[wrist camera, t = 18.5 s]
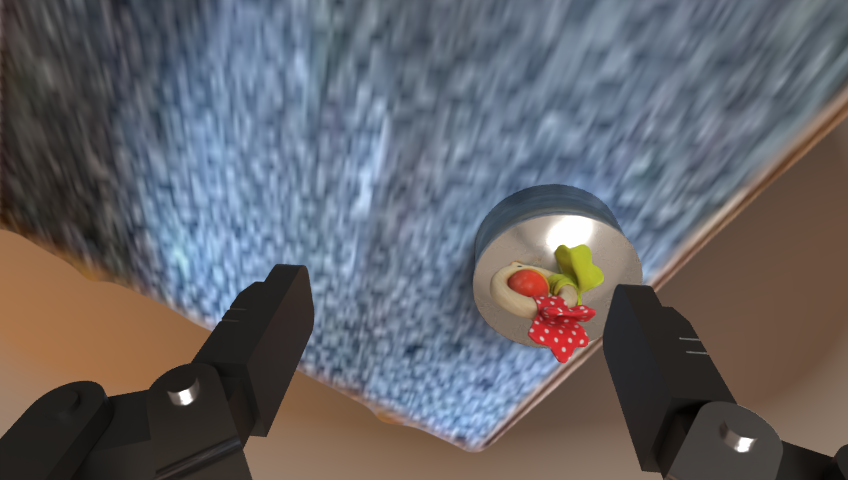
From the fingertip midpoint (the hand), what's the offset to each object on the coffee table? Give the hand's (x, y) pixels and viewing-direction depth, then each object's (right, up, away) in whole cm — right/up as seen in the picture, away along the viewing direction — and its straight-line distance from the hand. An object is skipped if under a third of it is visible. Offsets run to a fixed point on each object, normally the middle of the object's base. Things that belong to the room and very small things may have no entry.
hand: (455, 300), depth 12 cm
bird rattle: (+10, -1, +31) cm, 32 cm away
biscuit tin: (+12, +1, +37) cm, 39 cm away
